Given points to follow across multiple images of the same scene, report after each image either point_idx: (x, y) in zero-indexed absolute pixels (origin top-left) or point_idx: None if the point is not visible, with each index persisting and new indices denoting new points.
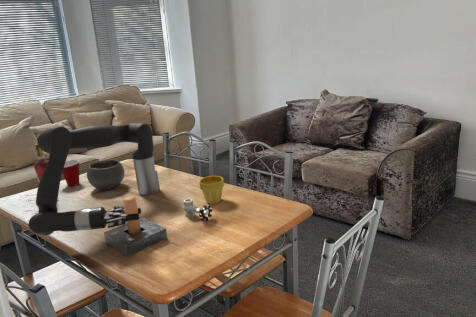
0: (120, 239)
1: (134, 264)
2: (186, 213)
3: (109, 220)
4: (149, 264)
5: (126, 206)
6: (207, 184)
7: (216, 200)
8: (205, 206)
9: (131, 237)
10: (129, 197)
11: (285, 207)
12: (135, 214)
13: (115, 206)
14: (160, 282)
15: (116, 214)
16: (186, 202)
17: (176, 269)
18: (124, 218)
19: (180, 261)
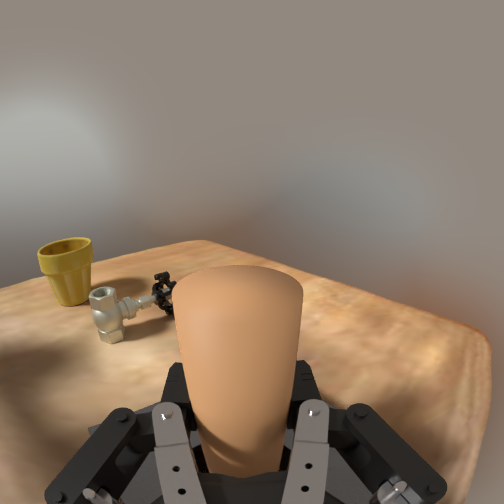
0: (350, 501)
1: (430, 427)
2: (114, 332)
3: (429, 482)
4: (418, 391)
5: (297, 349)
6: (80, 249)
7: (90, 289)
8: (168, 274)
9: (329, 458)
10: (200, 290)
11: (184, 248)
12: (297, 362)
13: (62, 494)
14: (463, 348)
15: (326, 468)
16: (111, 295)
17: (416, 339)
18: (359, 408)
19: (386, 340)
